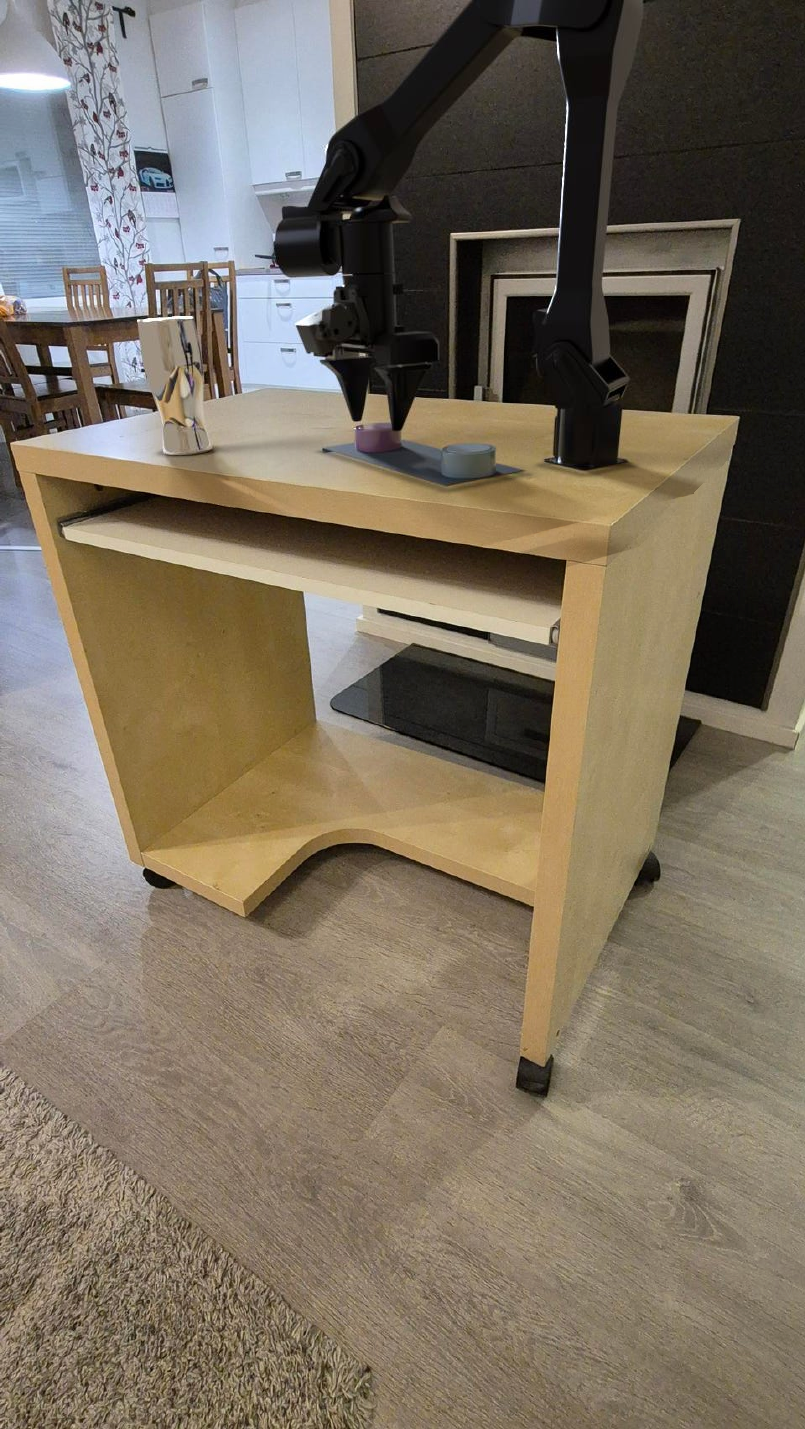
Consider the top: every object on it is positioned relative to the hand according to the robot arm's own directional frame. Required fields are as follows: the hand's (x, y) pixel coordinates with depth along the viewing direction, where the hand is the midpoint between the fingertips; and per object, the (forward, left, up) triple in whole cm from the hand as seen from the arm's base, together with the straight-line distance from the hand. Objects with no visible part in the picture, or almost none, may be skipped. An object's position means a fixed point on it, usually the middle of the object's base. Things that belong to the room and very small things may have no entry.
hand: (376, 426), depth 91 cm
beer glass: (+18, +17, -3) cm, 25 cm away
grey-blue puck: (-18, 0, -2) cm, 18 cm away
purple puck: (0, 0, -2) cm, 3 cm away
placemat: (-8, 0, -3) cm, 9 cm away
